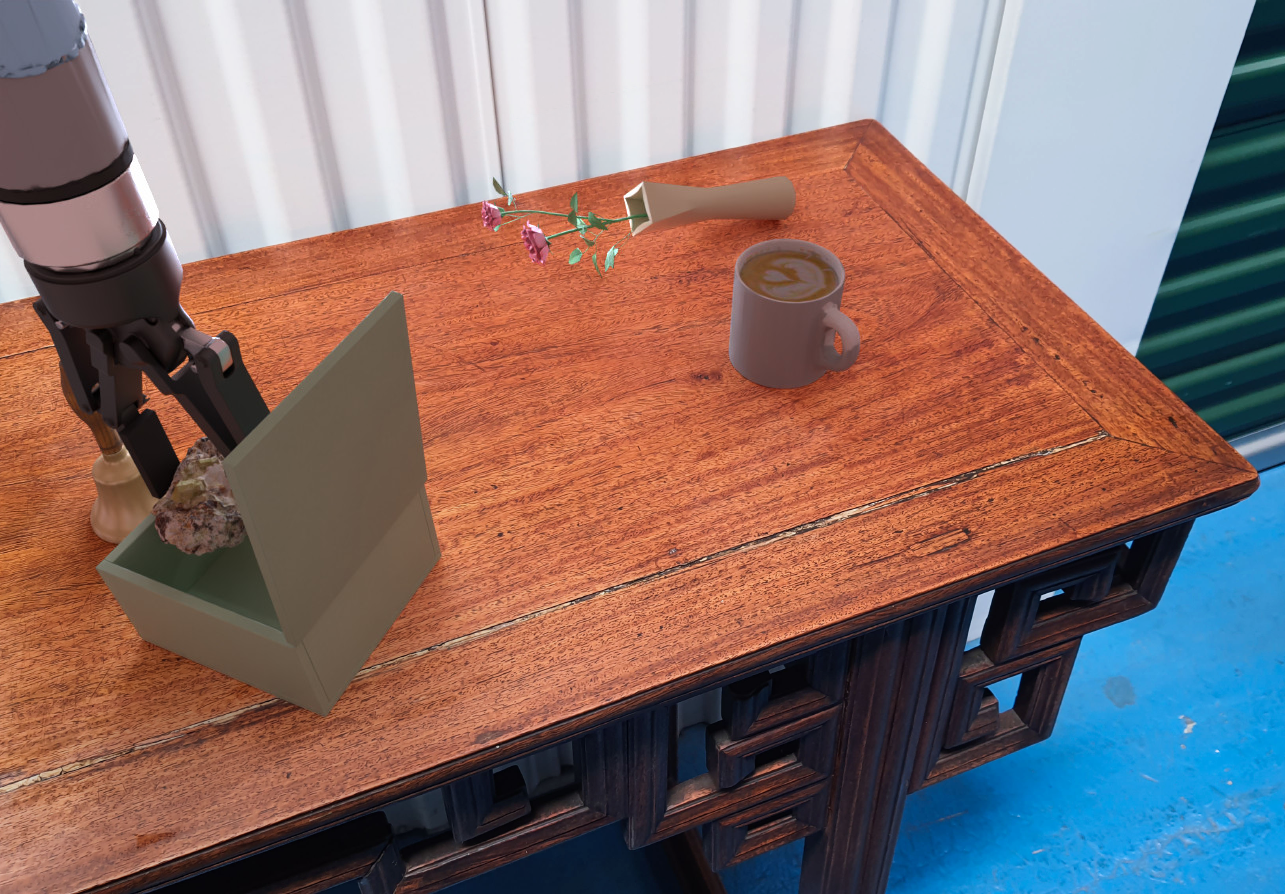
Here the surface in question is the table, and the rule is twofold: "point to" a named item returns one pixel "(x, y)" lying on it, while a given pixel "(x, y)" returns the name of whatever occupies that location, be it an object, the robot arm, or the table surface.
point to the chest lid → (332, 468)
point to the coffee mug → (789, 314)
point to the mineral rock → (199, 504)
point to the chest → (268, 608)
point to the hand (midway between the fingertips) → (218, 503)
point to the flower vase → (659, 211)
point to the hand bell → (112, 478)
